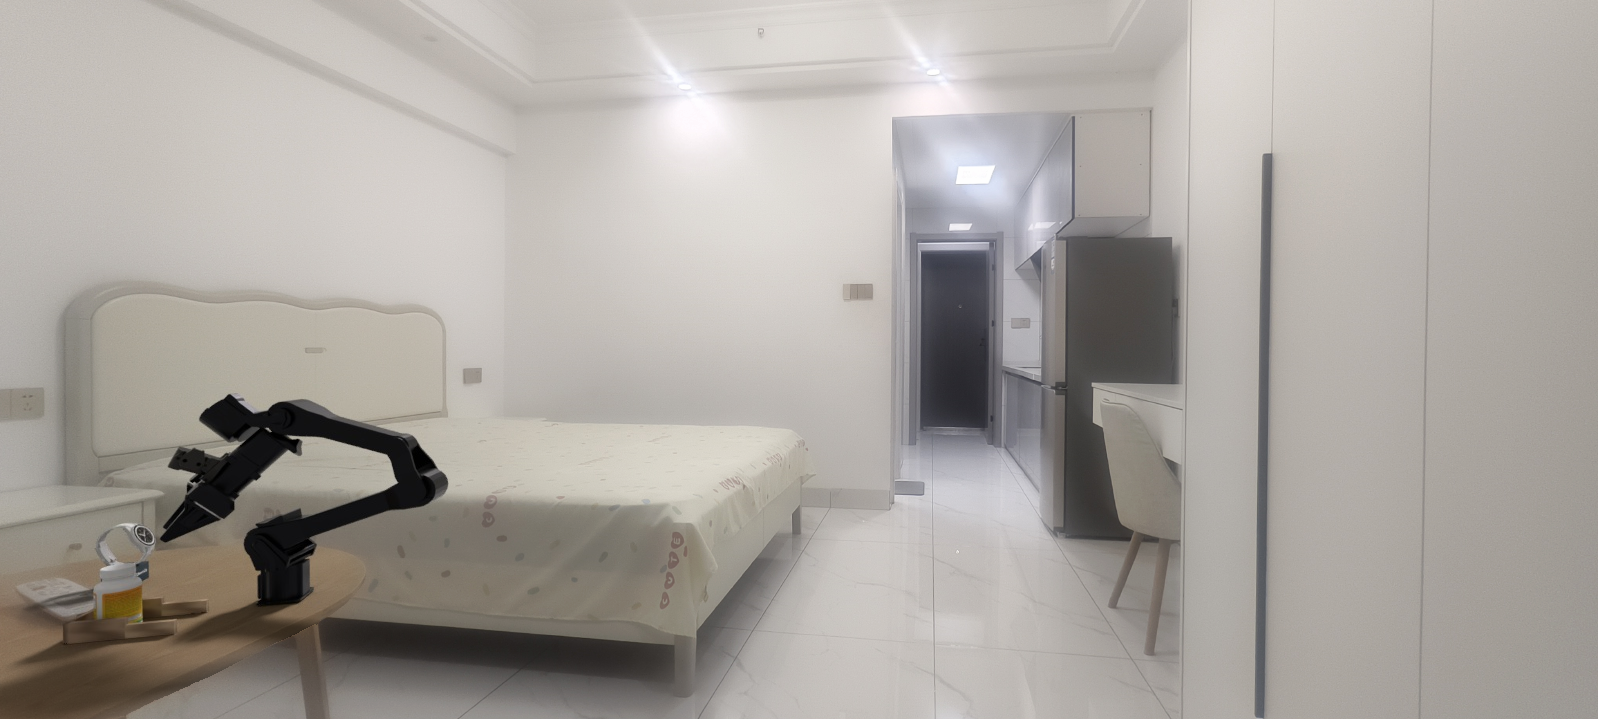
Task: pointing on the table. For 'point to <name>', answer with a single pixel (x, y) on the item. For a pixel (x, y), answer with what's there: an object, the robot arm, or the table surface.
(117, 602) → the supplement bottle
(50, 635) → the table surface
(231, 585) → the table surface
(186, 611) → the jig
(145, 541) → the watch
